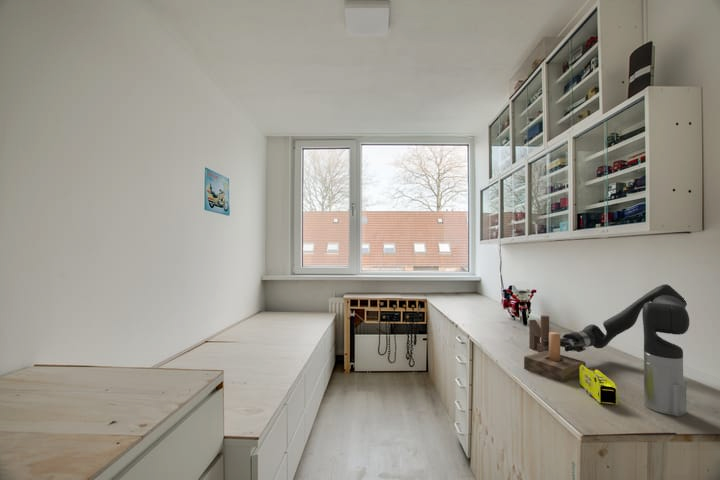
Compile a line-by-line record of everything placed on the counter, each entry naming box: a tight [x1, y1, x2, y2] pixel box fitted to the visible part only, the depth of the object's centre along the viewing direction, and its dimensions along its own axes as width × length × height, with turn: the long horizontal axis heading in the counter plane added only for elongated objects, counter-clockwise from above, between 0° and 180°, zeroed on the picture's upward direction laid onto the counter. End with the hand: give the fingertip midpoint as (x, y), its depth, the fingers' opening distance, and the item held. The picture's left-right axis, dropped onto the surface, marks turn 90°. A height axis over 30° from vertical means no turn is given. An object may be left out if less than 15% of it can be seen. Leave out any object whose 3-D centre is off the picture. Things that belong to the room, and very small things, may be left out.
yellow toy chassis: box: [579, 365, 618, 406], centre depth 114 cm, size 16×6×8 cm, turn 166°
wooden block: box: [528, 314, 550, 353], centre depth 162 cm, size 4×11×18 cm, turn 12°
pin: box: [549, 331, 561, 362], centre depth 135 cm, size 4×4×14 cm
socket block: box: [523, 351, 587, 383], centre depth 135 cm, size 16×16×5 cm
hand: (554, 346), depth 136 cm, fingers open, 8 cm apart
